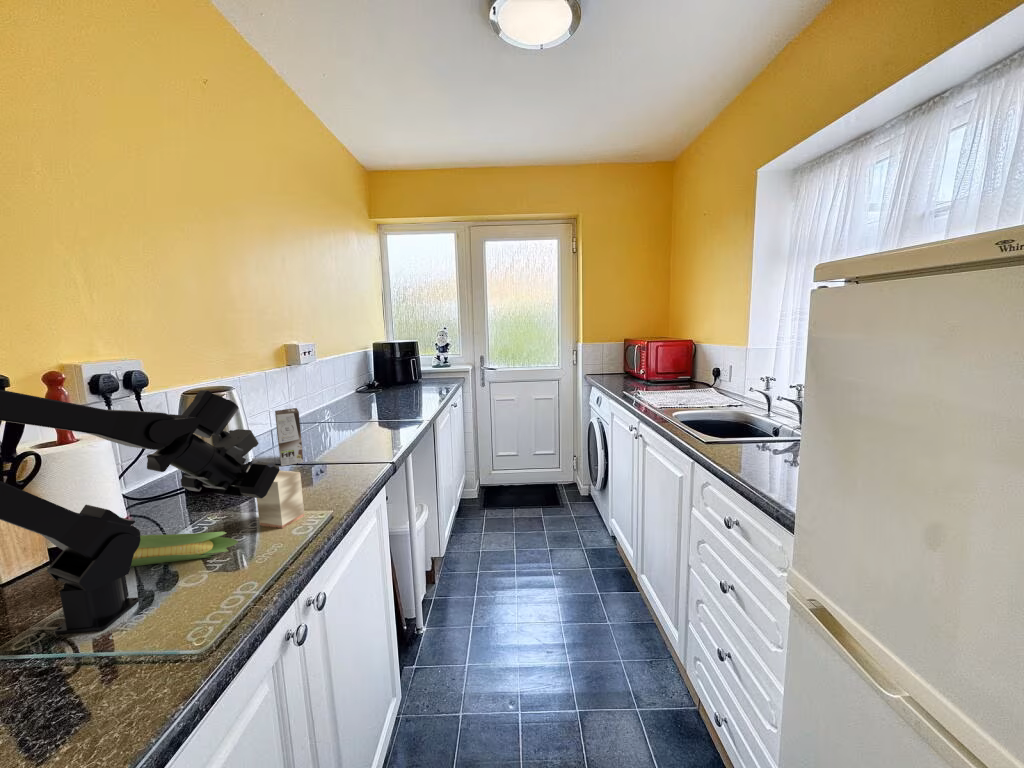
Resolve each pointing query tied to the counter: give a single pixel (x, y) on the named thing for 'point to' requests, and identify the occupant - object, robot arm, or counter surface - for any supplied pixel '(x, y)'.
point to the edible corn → (179, 547)
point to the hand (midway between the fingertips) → (260, 494)
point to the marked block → (282, 501)
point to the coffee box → (289, 436)
